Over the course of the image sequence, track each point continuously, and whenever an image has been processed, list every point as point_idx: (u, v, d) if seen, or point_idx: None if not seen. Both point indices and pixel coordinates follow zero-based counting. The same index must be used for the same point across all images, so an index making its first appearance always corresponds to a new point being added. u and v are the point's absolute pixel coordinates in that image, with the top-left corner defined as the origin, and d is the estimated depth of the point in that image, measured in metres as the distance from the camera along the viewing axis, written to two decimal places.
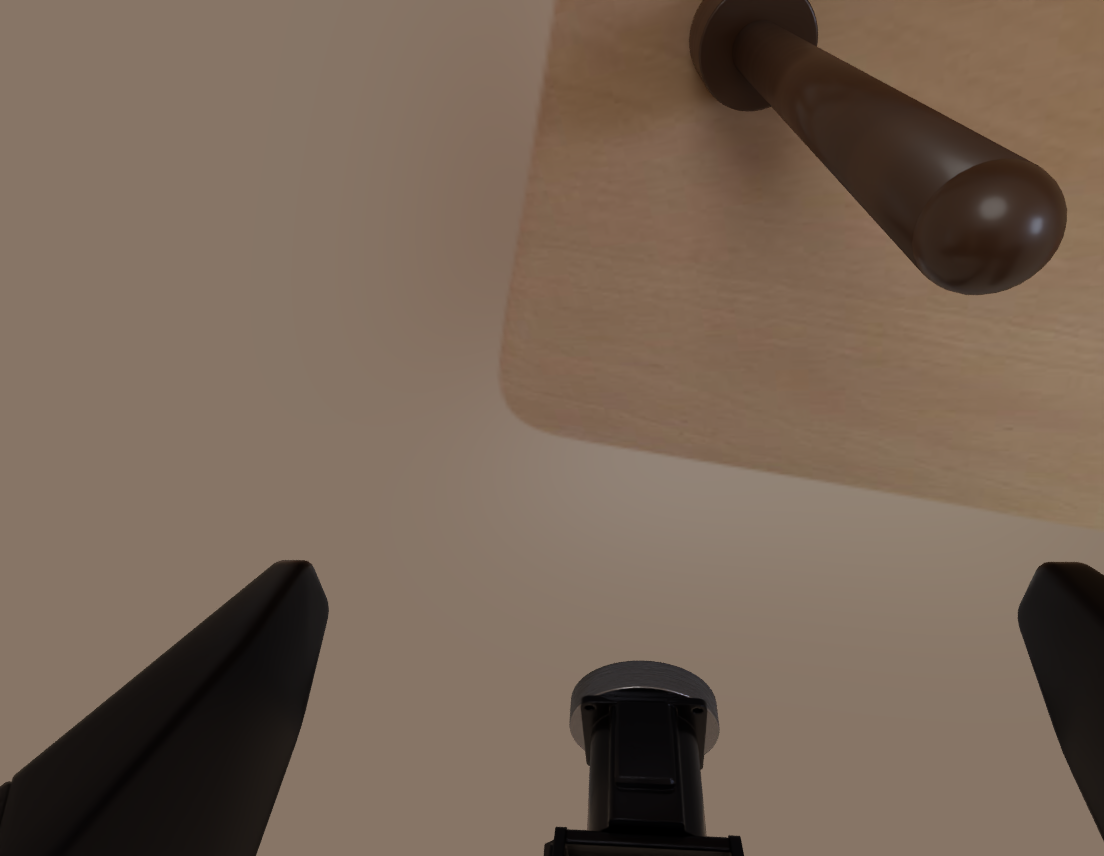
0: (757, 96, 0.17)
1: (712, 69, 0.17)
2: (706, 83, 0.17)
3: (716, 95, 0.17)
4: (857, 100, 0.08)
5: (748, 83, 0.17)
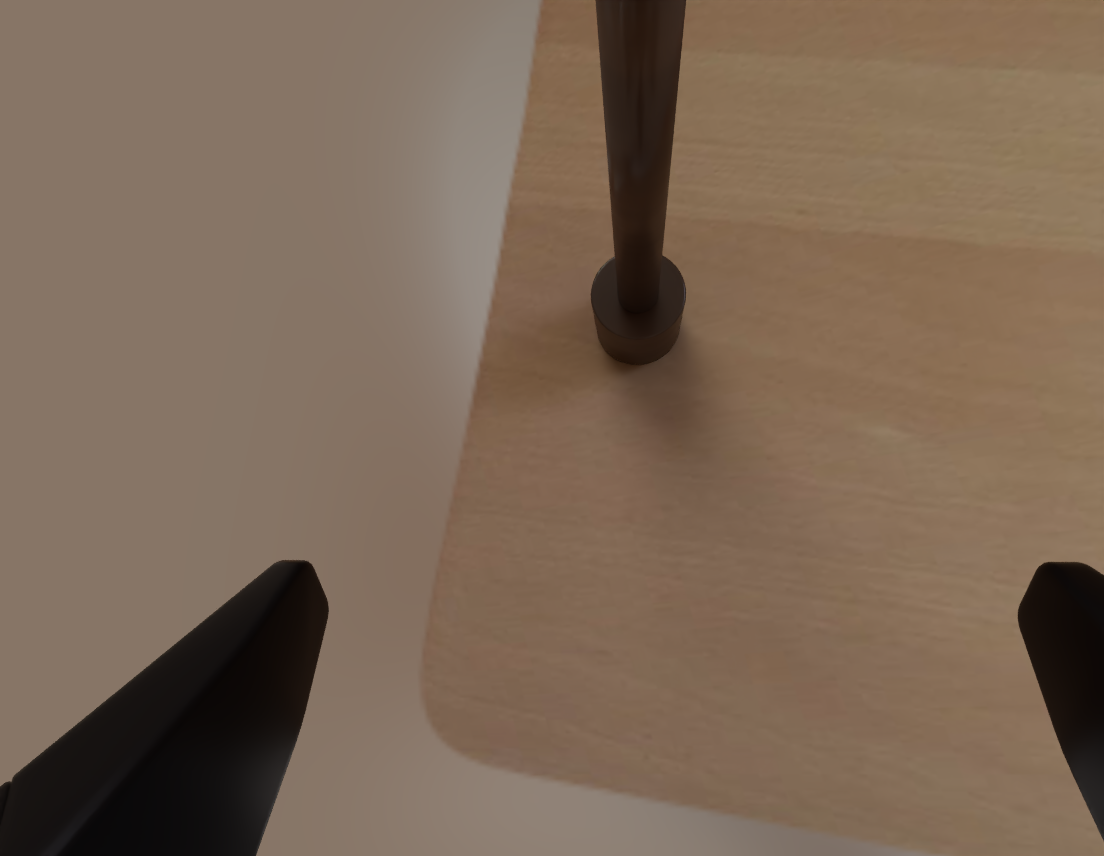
0: (644, 327, 0.20)
1: (603, 310, 0.20)
2: (600, 320, 0.20)
3: (610, 328, 0.20)
4: None
5: (635, 318, 0.20)
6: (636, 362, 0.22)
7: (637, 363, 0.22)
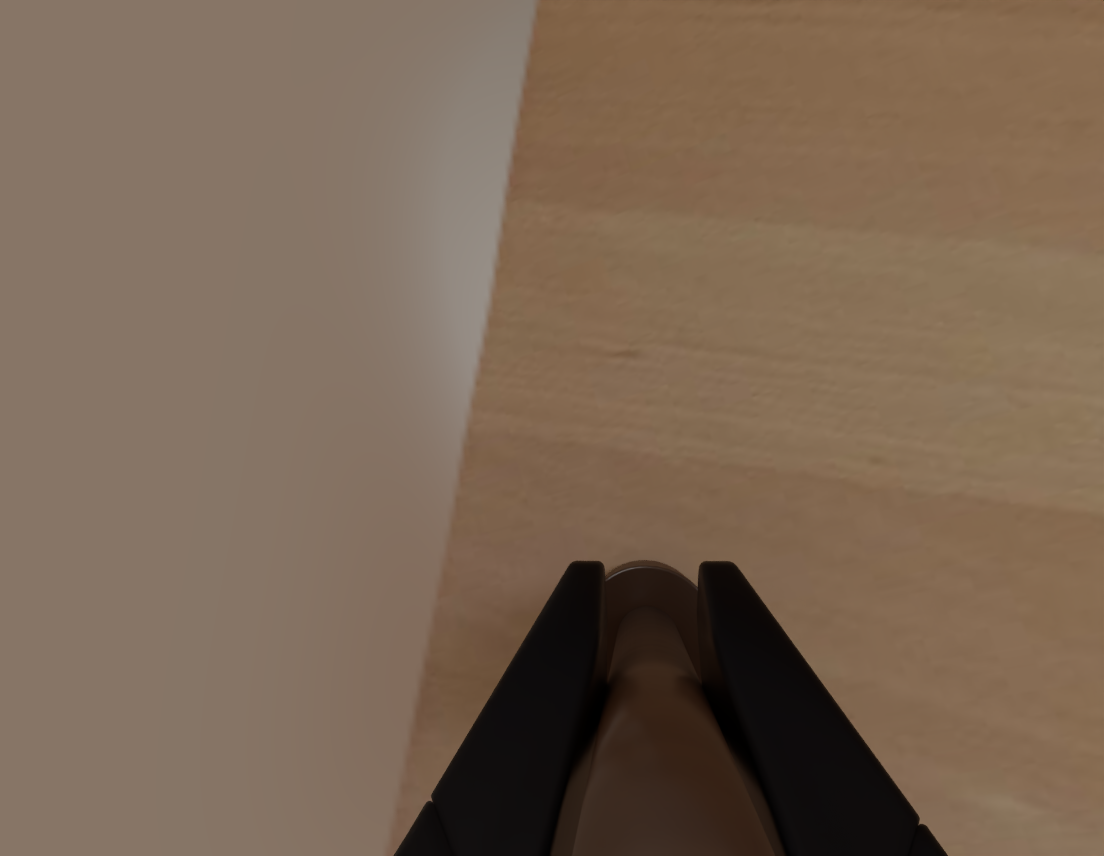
0: None
1: None
2: None
3: None
4: (610, 778, 0.04)
5: None
6: None
7: None
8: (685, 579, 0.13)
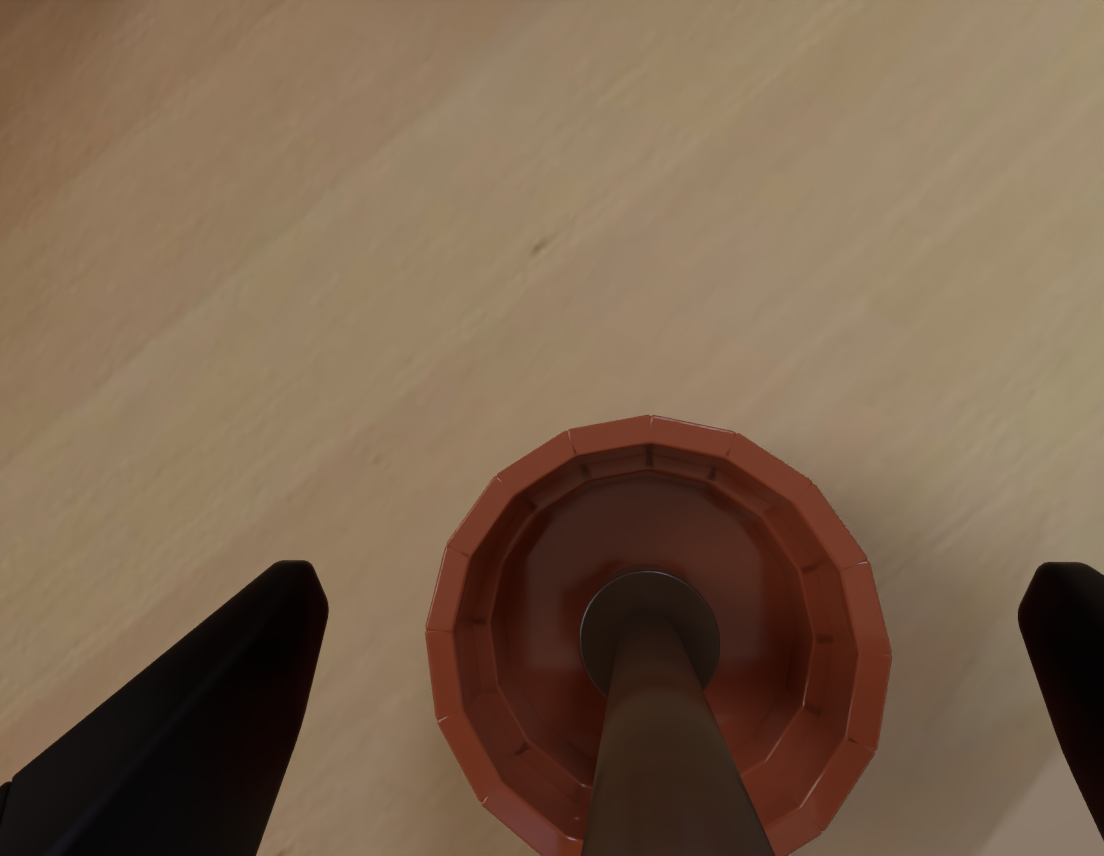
0: None
1: (597, 665, 0.13)
2: (592, 680, 0.13)
3: (606, 695, 0.13)
4: (617, 785, 0.04)
5: None
6: None
7: None
8: (685, 583, 0.13)
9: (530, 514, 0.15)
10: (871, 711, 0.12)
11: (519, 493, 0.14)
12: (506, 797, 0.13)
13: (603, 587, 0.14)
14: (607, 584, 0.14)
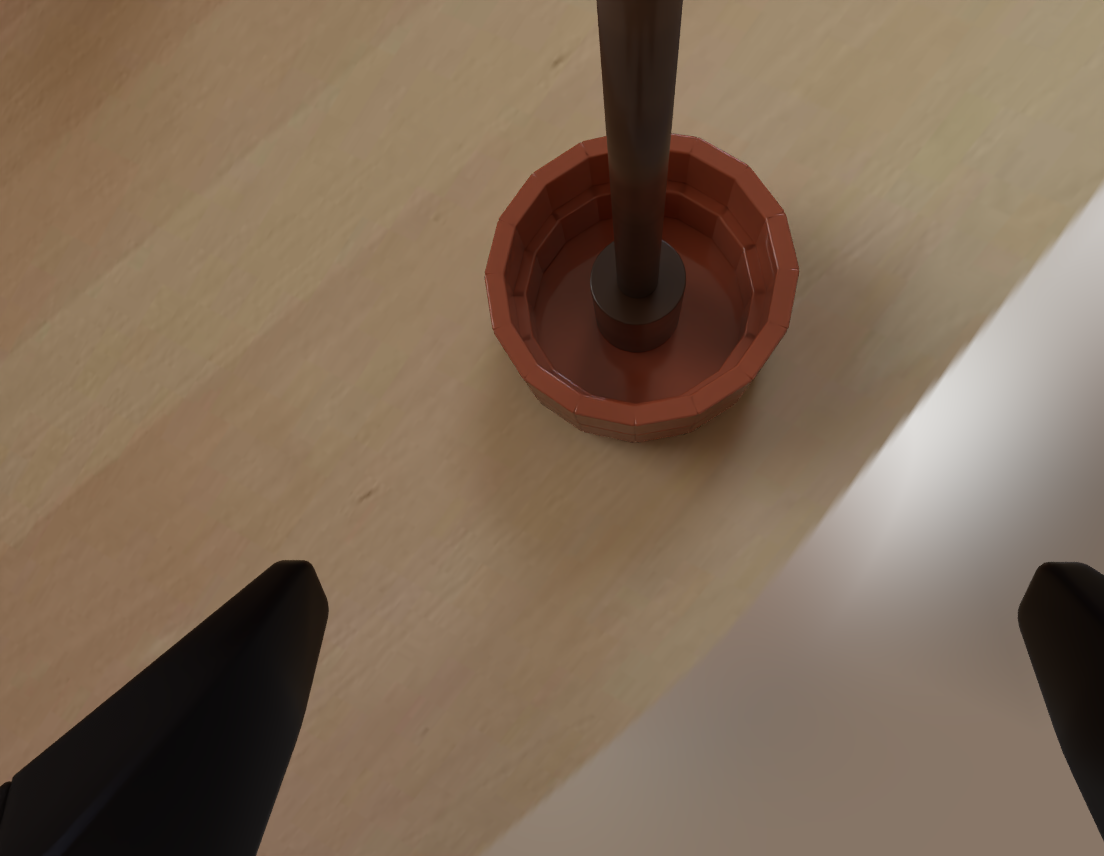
0: (644, 312, 0.19)
1: (602, 295, 0.20)
2: (599, 305, 0.20)
3: (609, 313, 0.20)
4: None
5: (634, 303, 0.19)
6: (635, 350, 0.22)
7: (637, 351, 0.22)
8: (663, 241, 0.20)
9: (554, 222, 0.22)
10: (784, 304, 0.19)
11: (548, 185, 0.20)
12: (541, 373, 0.19)
13: (606, 246, 0.20)
14: (609, 244, 0.20)
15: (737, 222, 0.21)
